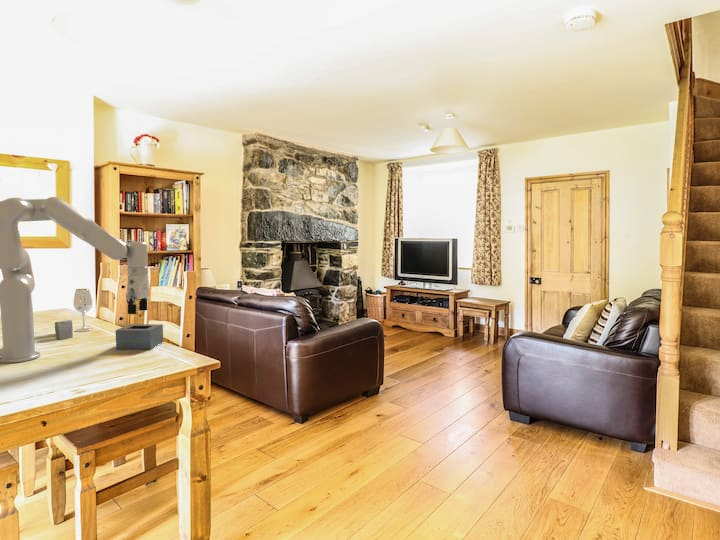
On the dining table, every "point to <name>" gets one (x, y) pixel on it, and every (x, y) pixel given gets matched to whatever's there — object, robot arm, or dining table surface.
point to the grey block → (64, 329)
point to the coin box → (139, 336)
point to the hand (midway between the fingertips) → (137, 312)
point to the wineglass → (82, 305)
